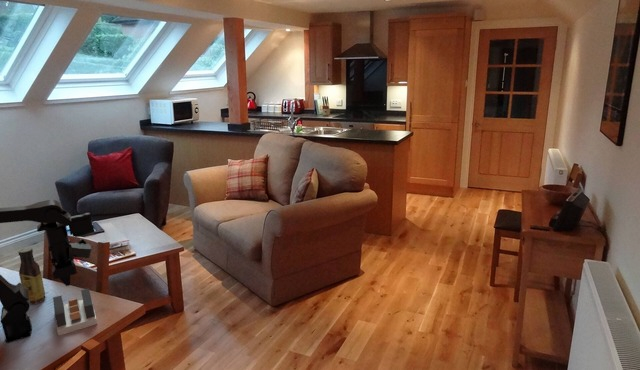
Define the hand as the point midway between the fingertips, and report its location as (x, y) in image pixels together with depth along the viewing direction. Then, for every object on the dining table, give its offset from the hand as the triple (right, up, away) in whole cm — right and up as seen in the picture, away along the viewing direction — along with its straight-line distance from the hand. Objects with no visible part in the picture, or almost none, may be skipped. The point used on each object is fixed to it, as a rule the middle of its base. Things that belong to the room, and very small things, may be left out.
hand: (68, 285), depth 143 cm
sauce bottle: (-19, -9, +15) cm, 26 cm away
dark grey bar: (-3, -10, +1) cm, 11 cm away
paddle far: (-2, -8, +7) cm, 11 cm away
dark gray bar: (+4, -9, +5) cm, 11 cm away
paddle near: (+3, -10, -1) cm, 11 cm away
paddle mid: (0, -9, +3) cm, 10 cm away
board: (+1, -12, +4) cm, 12 cm away
